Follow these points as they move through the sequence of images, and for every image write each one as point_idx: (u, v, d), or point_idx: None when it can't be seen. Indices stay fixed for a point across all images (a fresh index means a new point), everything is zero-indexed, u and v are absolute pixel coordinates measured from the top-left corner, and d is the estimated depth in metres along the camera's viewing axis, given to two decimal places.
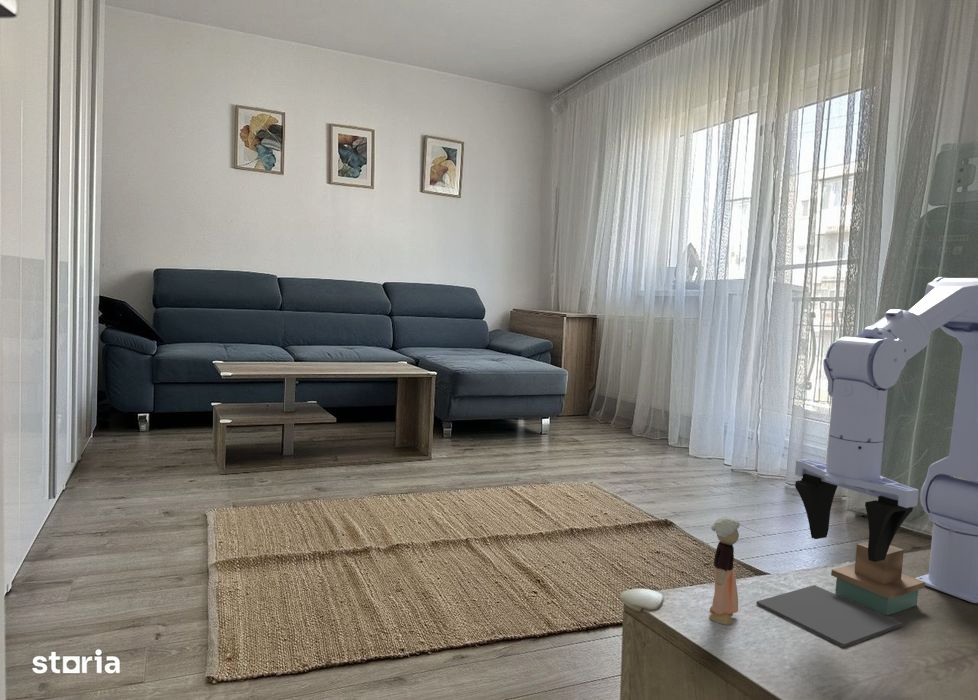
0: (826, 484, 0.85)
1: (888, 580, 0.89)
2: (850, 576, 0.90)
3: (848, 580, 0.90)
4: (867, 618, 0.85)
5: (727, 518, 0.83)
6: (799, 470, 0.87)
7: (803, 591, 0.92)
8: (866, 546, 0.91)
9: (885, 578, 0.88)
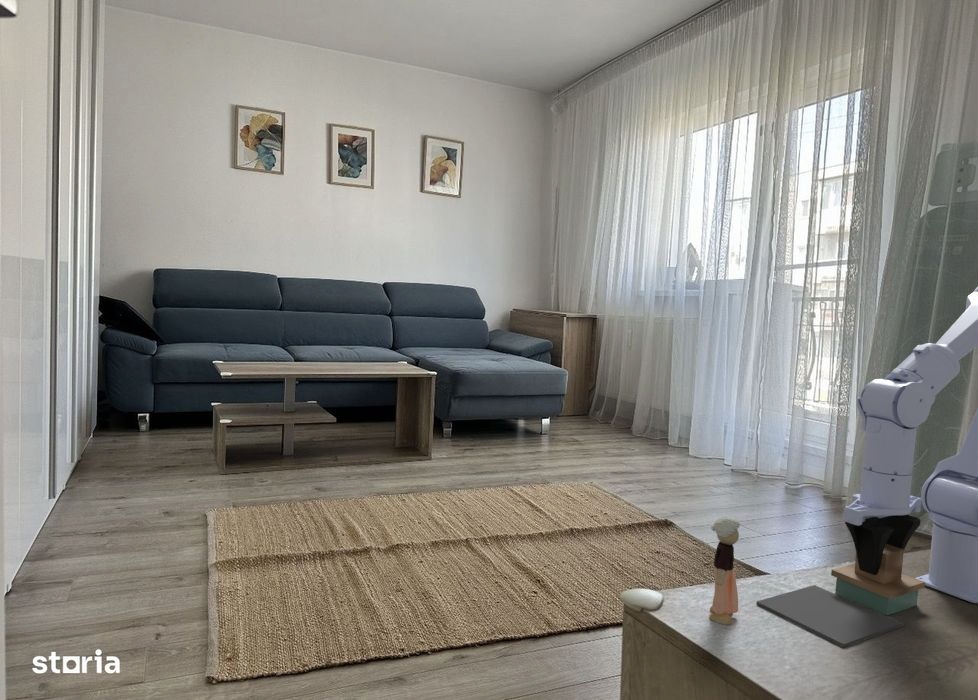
0: (895, 518, 0.91)
1: (888, 580, 0.89)
2: (850, 576, 0.90)
3: (848, 580, 0.90)
4: (867, 618, 0.85)
5: (727, 518, 0.83)
6: None
7: (803, 591, 0.92)
8: None
9: (885, 578, 0.88)
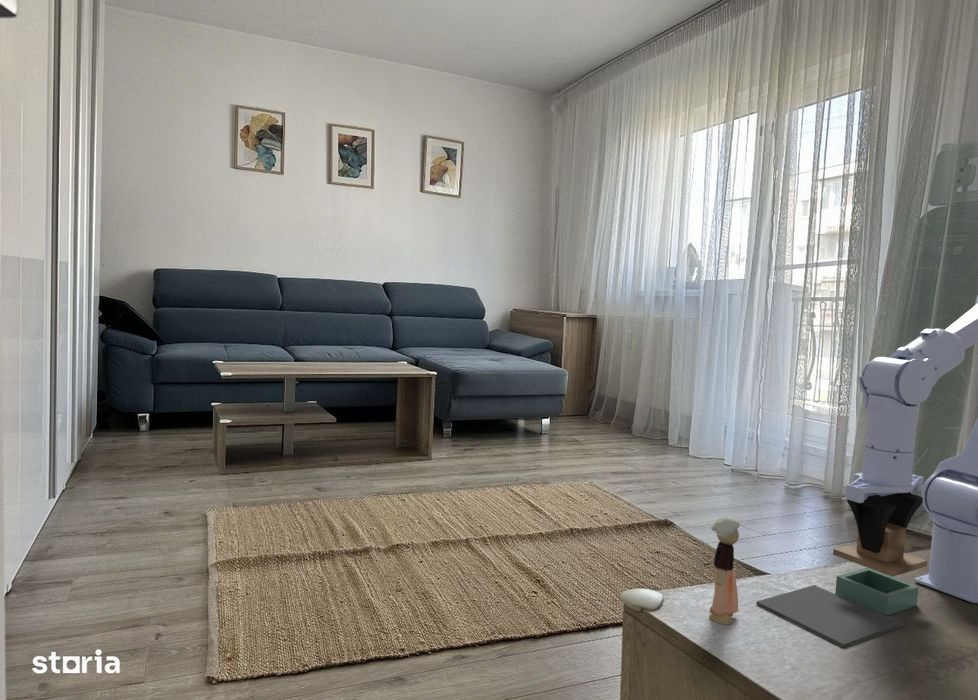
0: (897, 497, 0.91)
1: (891, 558, 0.89)
2: (852, 555, 0.90)
3: (850, 559, 0.90)
4: (867, 618, 0.85)
5: (727, 518, 0.83)
6: None
7: (803, 591, 0.92)
8: None
9: (887, 556, 0.88)
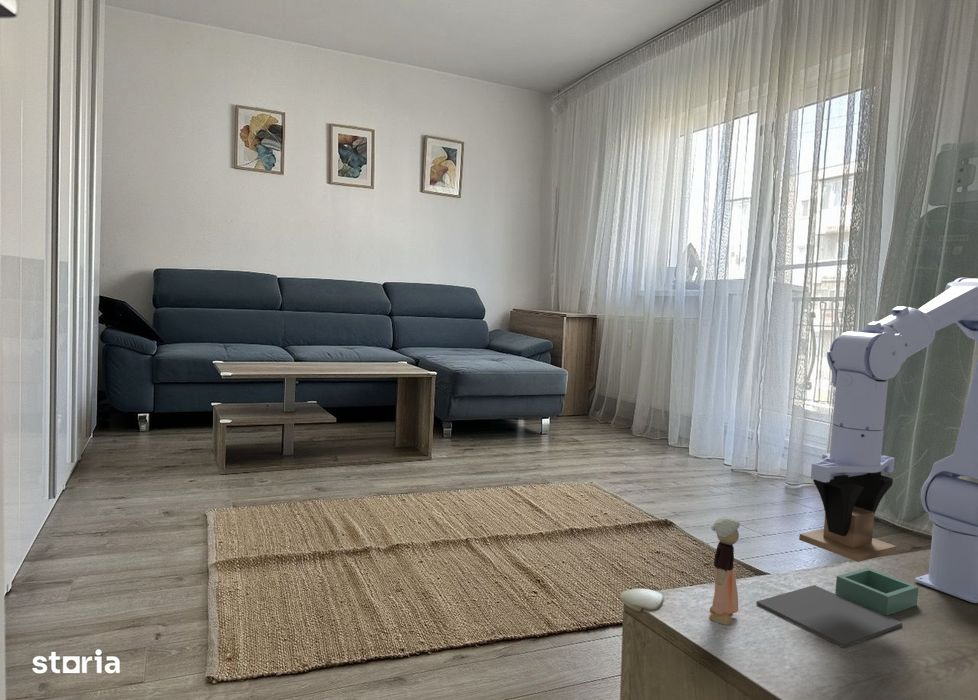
0: (866, 478, 0.87)
1: (858, 543, 0.85)
2: (818, 540, 0.86)
3: (816, 544, 0.86)
4: (867, 618, 0.85)
5: (727, 518, 0.83)
6: None
7: (803, 591, 0.92)
8: None
9: (854, 541, 0.84)
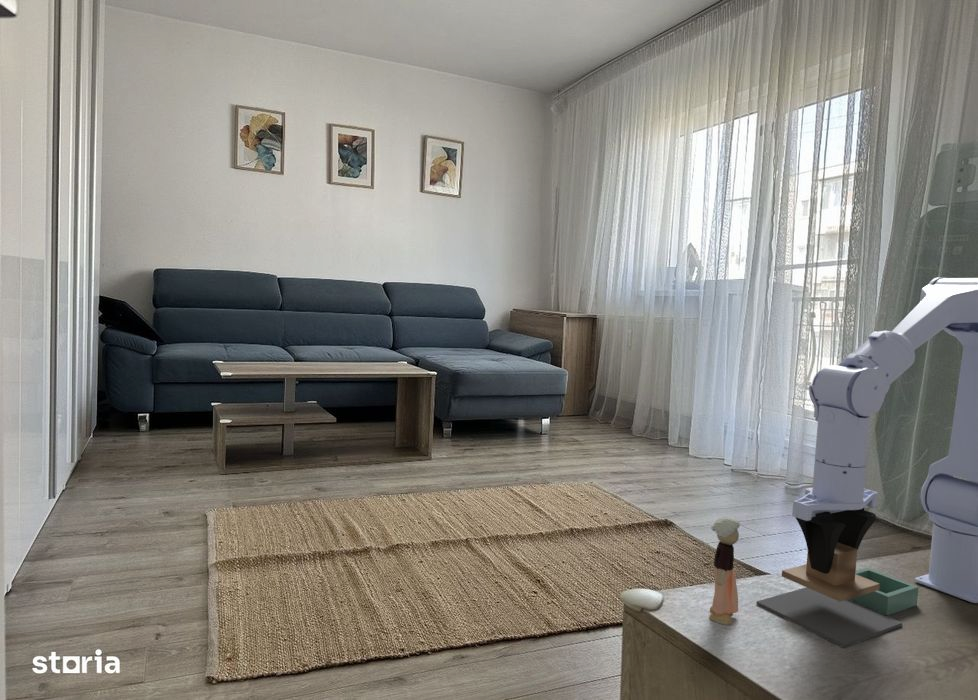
0: (849, 513, 0.86)
1: (841, 581, 0.83)
2: (800, 577, 0.85)
3: (798, 581, 0.85)
4: (867, 618, 0.85)
5: (727, 518, 0.83)
6: None
7: (803, 591, 0.92)
8: None
9: (837, 579, 0.83)
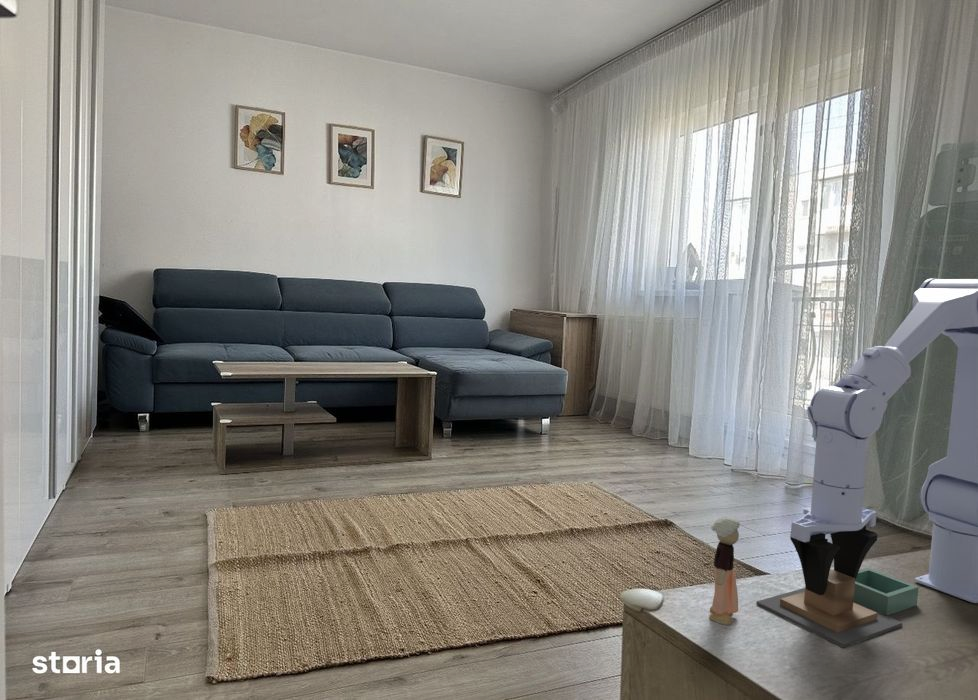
0: (851, 533, 0.86)
1: (838, 611, 0.84)
2: (799, 606, 0.85)
3: (796, 610, 0.85)
4: None
5: (727, 518, 0.83)
6: None
7: (803, 591, 0.92)
8: None
9: (834, 609, 0.83)
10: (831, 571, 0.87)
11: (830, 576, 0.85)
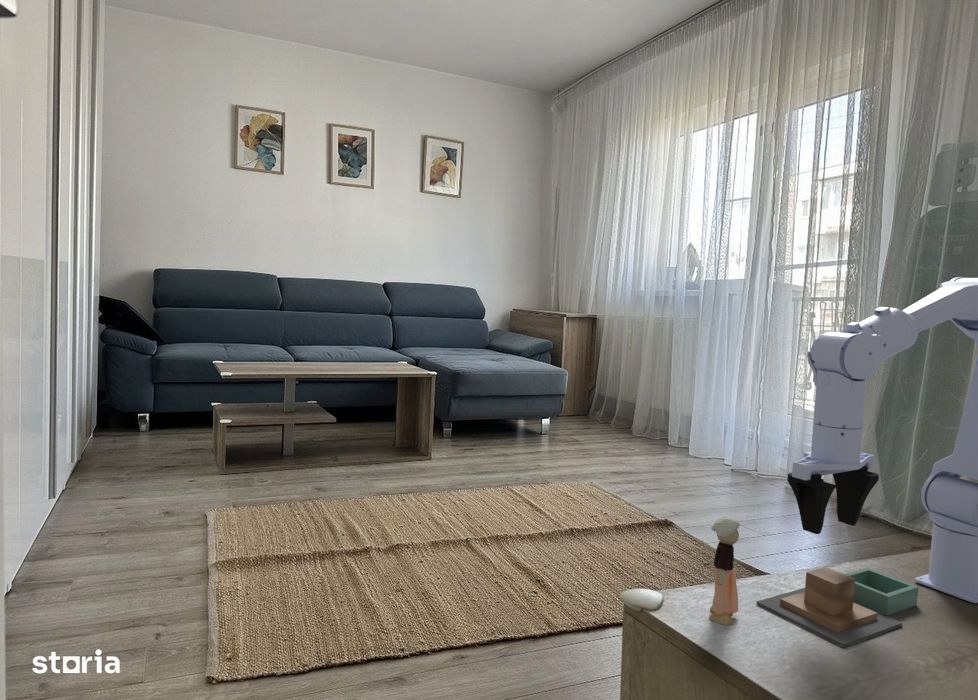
0: (853, 474, 0.89)
1: (838, 611, 0.84)
2: (799, 606, 0.85)
3: (796, 610, 0.85)
4: None
5: (727, 518, 0.83)
6: None
7: (803, 591, 0.92)
8: (816, 574, 0.86)
9: (834, 609, 0.83)
10: (831, 571, 0.87)
11: (830, 576, 0.85)
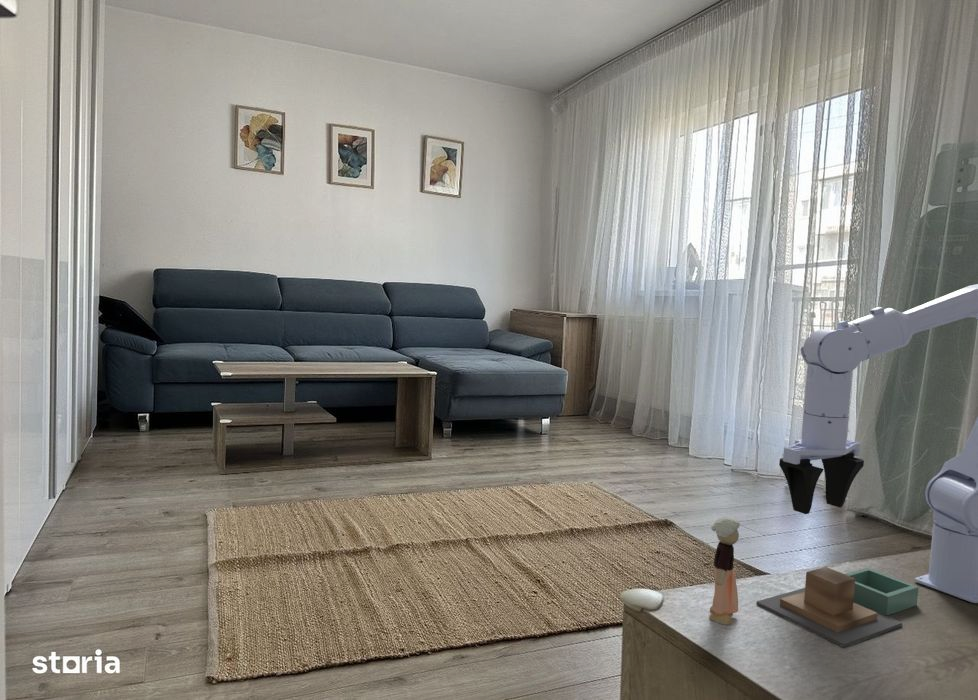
0: (840, 460, 0.97)
1: (838, 611, 0.84)
2: (799, 606, 0.85)
3: (796, 610, 0.85)
4: None
5: (727, 518, 0.83)
6: None
7: (803, 591, 0.92)
8: (816, 574, 0.86)
9: (834, 609, 0.83)
10: (831, 571, 0.87)
11: (830, 576, 0.85)
